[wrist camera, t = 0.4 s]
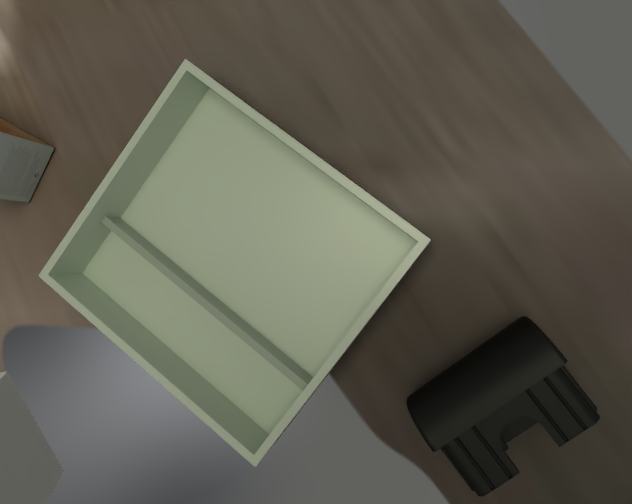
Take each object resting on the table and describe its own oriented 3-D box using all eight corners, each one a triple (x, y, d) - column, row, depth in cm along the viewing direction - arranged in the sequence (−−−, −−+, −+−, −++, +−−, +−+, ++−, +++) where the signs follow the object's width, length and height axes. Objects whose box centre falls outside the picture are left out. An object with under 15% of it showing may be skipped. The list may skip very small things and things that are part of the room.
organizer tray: (430, 242, 40) (430, 239, 35) (274, 443, 42) (255, 467, 38) (212, 81, 44) (185, 58, 39) (79, 274, 46) (38, 275, 41)
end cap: (516, 309, 39) (535, 319, 32) (580, 389, 38) (613, 417, 32) (406, 387, 41) (402, 412, 34) (465, 466, 40) (473, 508, 33)
